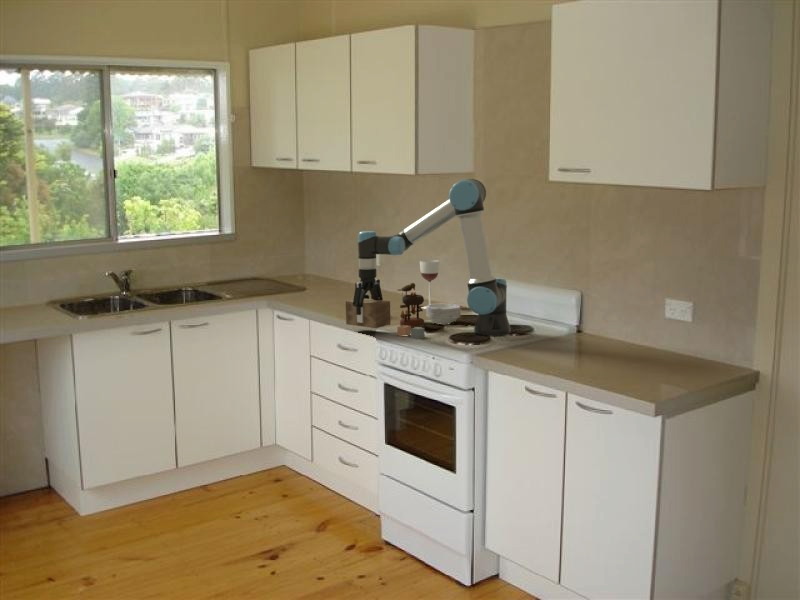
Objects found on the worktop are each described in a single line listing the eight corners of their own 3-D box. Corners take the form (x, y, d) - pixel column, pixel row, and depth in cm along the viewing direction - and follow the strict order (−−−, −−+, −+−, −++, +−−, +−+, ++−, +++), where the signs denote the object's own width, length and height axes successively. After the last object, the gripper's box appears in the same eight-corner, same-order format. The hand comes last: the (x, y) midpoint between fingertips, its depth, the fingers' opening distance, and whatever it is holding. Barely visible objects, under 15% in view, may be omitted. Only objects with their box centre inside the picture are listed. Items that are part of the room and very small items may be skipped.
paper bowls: (467, 322, 409) (467, 305, 408) (444, 327, 398) (444, 309, 397) (442, 318, 420) (442, 301, 418) (419, 323, 409) (419, 305, 408)
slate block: (424, 337, 378) (424, 327, 377) (419, 338, 375) (418, 329, 374) (416, 336, 380) (416, 326, 380) (411, 337, 377) (410, 328, 376)
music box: (411, 331, 390) (407, 284, 388) (392, 330, 398) (389, 284, 396) (435, 326, 401) (431, 280, 399) (417, 325, 408) (413, 280, 407)
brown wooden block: (390, 324, 388) (390, 301, 386) (375, 328, 380) (375, 304, 378) (361, 320, 397) (360, 297, 395) (346, 324, 389) (345, 301, 388)
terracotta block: (410, 335, 382) (410, 326, 381) (405, 337, 379) (405, 327, 378) (403, 334, 384) (402, 325, 384) (397, 336, 381) (397, 326, 380)
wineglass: (428, 309, 444) (428, 262, 441) (416, 307, 452) (415, 260, 449) (443, 307, 449) (443, 261, 446) (430, 305, 457) (430, 259, 454)
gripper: (377, 264, 396) (377, 315, 399) (343, 270, 378) (344, 323, 381) (390, 266, 391) (391, 317, 395) (357, 271, 373) (358, 325, 377)
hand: (368, 320), depth 388 cm, fingers closed on brown wooden block, 10 cm apart
